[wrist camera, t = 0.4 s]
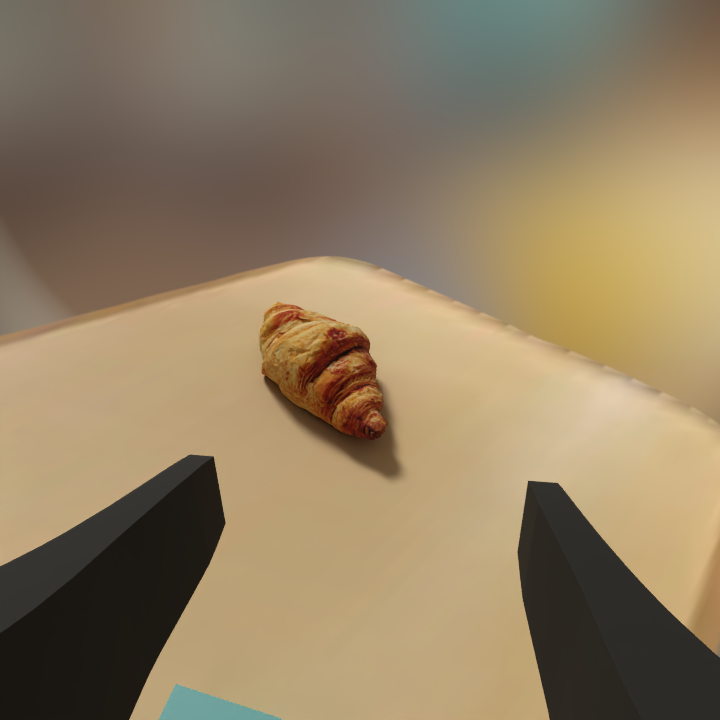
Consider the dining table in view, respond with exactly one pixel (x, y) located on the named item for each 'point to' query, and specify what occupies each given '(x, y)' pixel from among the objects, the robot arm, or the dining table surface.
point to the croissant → (323, 368)
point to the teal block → (206, 707)
